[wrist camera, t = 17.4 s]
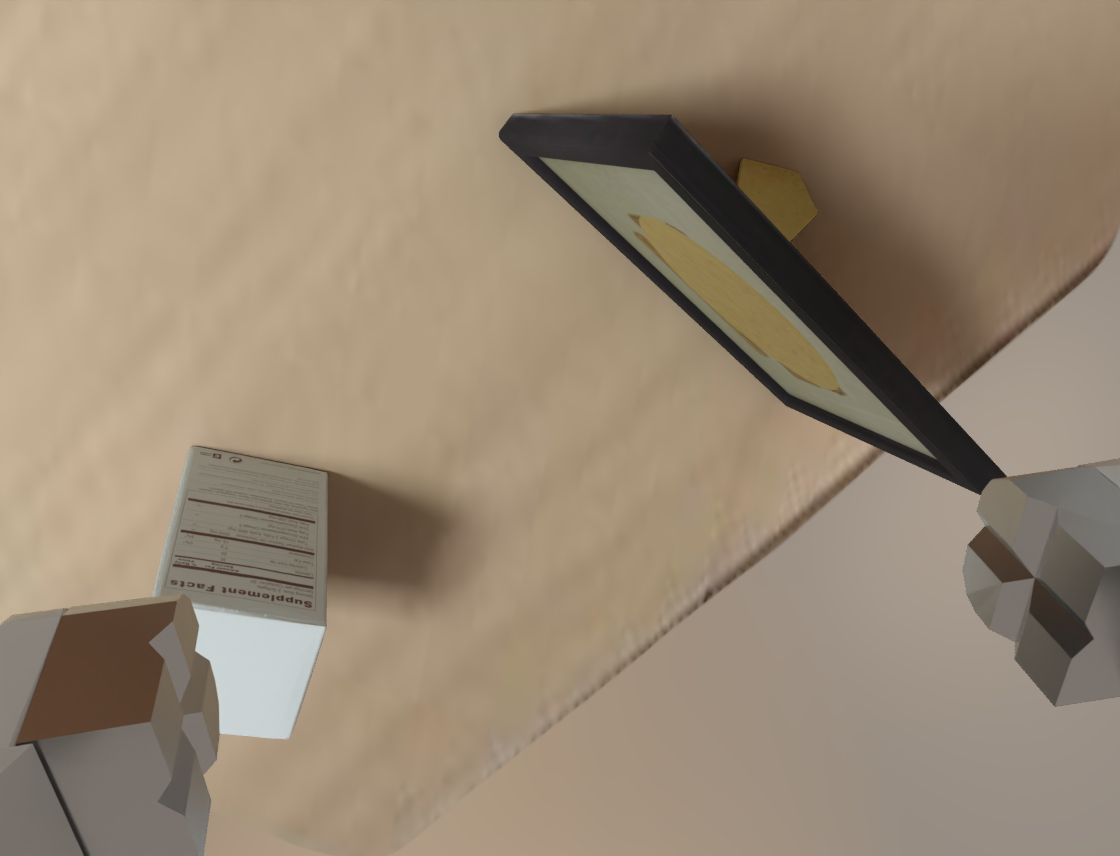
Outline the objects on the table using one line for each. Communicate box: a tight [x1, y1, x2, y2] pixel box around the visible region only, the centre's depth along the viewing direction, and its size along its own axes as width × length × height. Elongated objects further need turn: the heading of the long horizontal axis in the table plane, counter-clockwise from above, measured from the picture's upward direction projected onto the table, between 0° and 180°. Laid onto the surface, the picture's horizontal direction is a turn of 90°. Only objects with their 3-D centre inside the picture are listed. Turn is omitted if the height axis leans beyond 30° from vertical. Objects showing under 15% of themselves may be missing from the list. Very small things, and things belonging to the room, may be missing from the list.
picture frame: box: [499, 114, 1007, 495], centre depth 42 cm, size 23×9×15 cm, turn 45°
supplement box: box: [152, 446, 328, 739], centre depth 46 cm, size 7×7×13 cm
